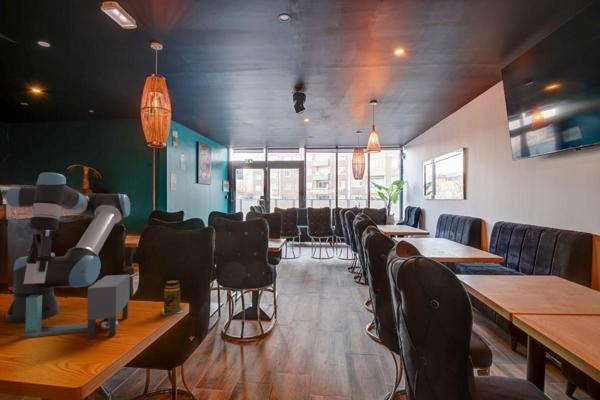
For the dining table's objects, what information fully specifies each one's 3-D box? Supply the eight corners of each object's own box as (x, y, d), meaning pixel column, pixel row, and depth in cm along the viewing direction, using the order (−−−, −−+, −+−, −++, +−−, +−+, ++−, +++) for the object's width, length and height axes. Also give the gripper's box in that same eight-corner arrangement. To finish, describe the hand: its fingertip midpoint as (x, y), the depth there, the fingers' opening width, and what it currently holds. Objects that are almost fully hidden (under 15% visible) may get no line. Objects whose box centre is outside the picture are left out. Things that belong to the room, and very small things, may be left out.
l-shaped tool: (23, 338, 97) (24, 298, 97) (31, 332, 102) (32, 294, 102) (88, 331, 102) (89, 294, 103) (94, 326, 107) (94, 290, 108)
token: (103, 325, 108) (103, 320, 108) (119, 324, 110) (119, 319, 110) (99, 331, 103) (99, 325, 103) (115, 329, 105) (115, 324, 105)
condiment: (162, 315, 118) (163, 284, 118) (161, 309, 126) (162, 279, 126) (182, 312, 121) (183, 282, 122) (180, 306, 129) (181, 278, 129)
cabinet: (104, 318, 114) (105, 275, 114) (128, 316, 116) (129, 274, 117) (86, 339, 97) (87, 288, 97) (115, 336, 99) (116, 286, 99)
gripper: (23, 221, 107) (10, 284, 102) (39, 210, 92) (26, 283, 87) (49, 224, 113) (39, 283, 108) (69, 213, 98) (58, 282, 92)
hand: (33, 283), depth 97 cm, fingers open, 13 cm apart
